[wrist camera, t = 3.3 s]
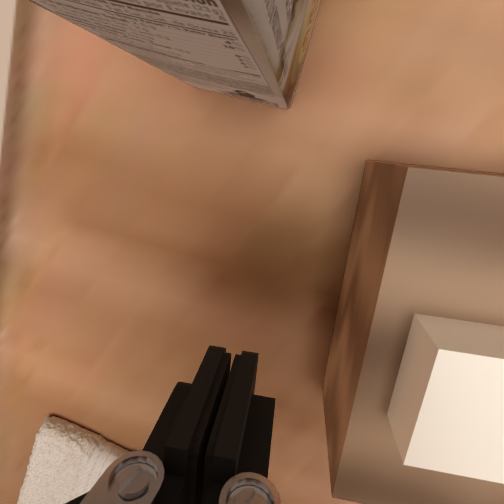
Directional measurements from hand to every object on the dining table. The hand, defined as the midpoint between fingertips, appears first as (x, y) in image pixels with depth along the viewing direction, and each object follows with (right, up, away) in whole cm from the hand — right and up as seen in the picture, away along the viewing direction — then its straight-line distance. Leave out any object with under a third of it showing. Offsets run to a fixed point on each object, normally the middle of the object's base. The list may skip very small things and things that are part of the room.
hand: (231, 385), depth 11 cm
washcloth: (-15, -19, +21) cm, 32 cm away
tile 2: (+9, -1, +2) cm, 10 cm away
